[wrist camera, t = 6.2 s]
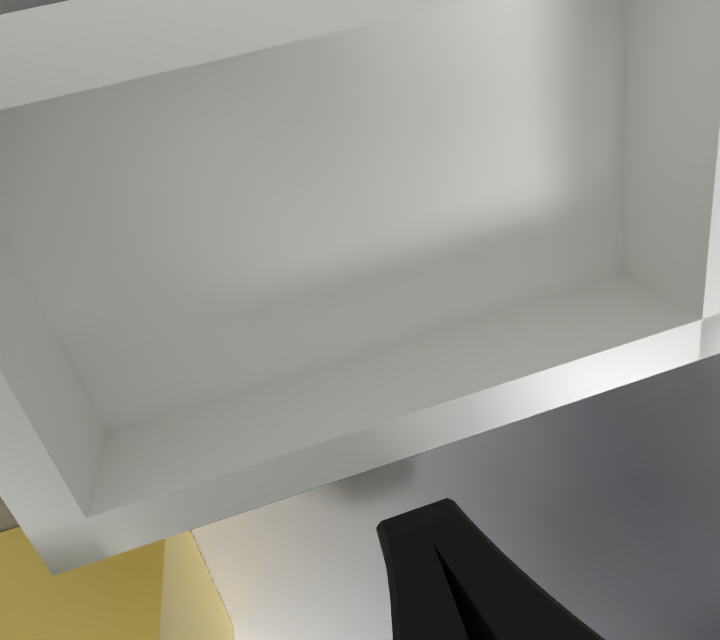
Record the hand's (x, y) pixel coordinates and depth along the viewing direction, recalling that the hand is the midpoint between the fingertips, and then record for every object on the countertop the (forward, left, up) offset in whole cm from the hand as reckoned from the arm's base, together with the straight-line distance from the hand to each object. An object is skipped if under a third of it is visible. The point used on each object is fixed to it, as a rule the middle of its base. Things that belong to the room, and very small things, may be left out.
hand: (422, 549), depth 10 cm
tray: (+6, 0, -1) cm, 6 cm away
